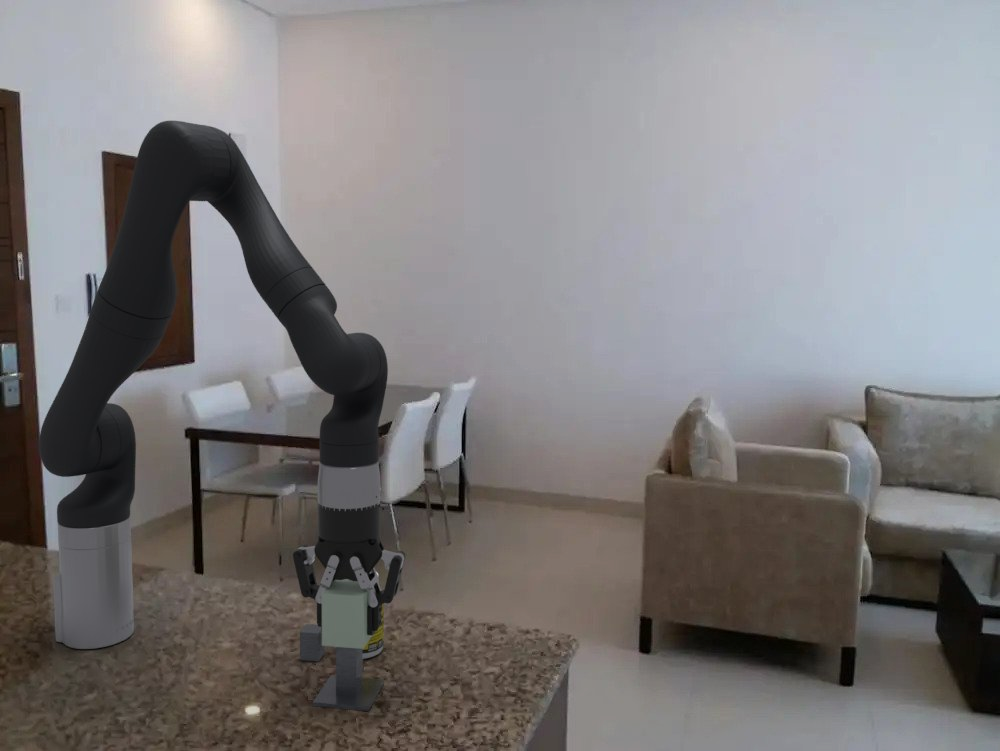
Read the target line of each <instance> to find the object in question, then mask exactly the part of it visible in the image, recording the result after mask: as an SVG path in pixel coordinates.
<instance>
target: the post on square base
mask: <svg viewBox="0 0 1000 751" xmlns="http://www.w3.org/2000/svg"><path fill="white" fill-rule="evenodd" d="M384 684H385V680H384V679H383V678H374V677H373V678H371V677H363V659H362V649H359V648H346V647H335V674H331V675H330V676H329V677H328V679H327V681H326V682H325V683H324V685H323V686H322V688H321V689H320V690H319V692H318V694H316V696H315V697H314V700H313V701H312V707H319V708H321V707H322V708H332V709H343V710H353V711H363V712H364V711H366V712H369V711H370V709H371V708H370V707H372V706H373V704H374V701H375V700H376V699H377V696H378V694H379V692H380V691H381V689H382V687H383V685H384Z"/></svg>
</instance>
